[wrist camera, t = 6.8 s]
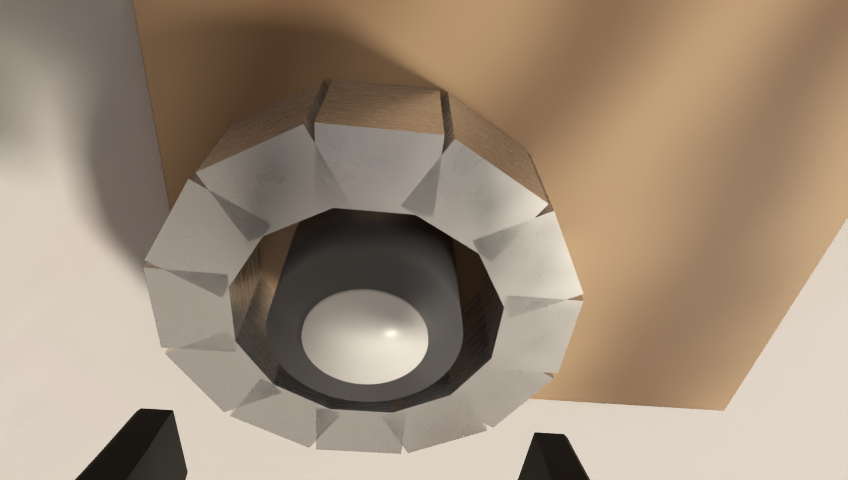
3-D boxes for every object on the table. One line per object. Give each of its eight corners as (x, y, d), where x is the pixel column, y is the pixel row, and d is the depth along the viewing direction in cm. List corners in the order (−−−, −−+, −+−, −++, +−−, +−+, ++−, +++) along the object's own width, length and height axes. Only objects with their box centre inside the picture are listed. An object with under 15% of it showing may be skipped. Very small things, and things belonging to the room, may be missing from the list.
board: (1149, -288, 10) (1174, -293, 10) (719, 402, 21) (724, 410, 21) (59, -471, 9) (45, -486, 8) (204, 369, 20) (200, 378, 20)
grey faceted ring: (596, 104, 14) (635, 153, 12) (512, 388, 20) (526, 460, 18) (164, 60, 13) (105, 102, 11) (212, 369, 19) (182, 442, 17)
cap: (465, 193, 15) (478, 270, 12) (443, 322, 18) (450, 410, 15) (288, 179, 15) (258, 254, 12) (294, 312, 18) (270, 401, 15)
